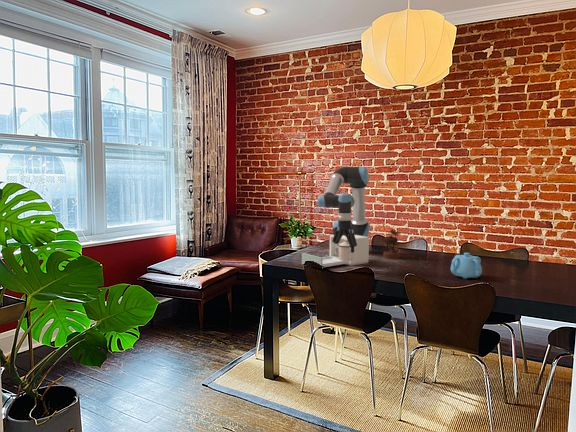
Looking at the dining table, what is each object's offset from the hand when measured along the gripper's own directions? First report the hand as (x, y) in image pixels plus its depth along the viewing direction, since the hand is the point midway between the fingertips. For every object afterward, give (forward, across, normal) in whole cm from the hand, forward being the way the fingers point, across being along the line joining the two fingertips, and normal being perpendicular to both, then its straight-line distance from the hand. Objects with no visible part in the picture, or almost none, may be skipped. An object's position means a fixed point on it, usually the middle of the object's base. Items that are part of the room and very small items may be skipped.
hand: (344, 256), depth 257 cm
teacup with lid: (+2, 0, 0) cm, 2 cm away
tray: (+8, -17, 0) cm, 19 cm away
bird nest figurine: (+10, -11, +52) cm, 54 cm away
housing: (+9, -17, +20) cm, 27 cm away
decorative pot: (+9, +50, +46) cm, 69 cm away
